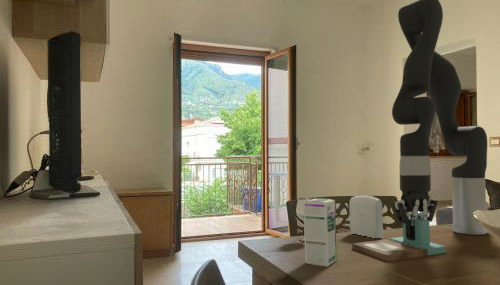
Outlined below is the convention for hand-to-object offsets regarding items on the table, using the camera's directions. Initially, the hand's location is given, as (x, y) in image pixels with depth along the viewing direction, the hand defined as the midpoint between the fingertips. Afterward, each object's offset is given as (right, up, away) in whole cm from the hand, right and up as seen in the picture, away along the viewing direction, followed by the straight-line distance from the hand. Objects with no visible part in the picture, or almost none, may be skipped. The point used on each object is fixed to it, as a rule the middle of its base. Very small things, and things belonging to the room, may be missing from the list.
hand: (416, 238), depth 103 cm
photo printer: (-8, -3, +16) cm, 18 cm away
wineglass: (-27, -3, +11) cm, 29 cm away
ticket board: (-9, -3, -4) cm, 10 cm away
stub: (0, -2, 0) cm, 2 cm away
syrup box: (-27, -3, -12) cm, 30 cm away
